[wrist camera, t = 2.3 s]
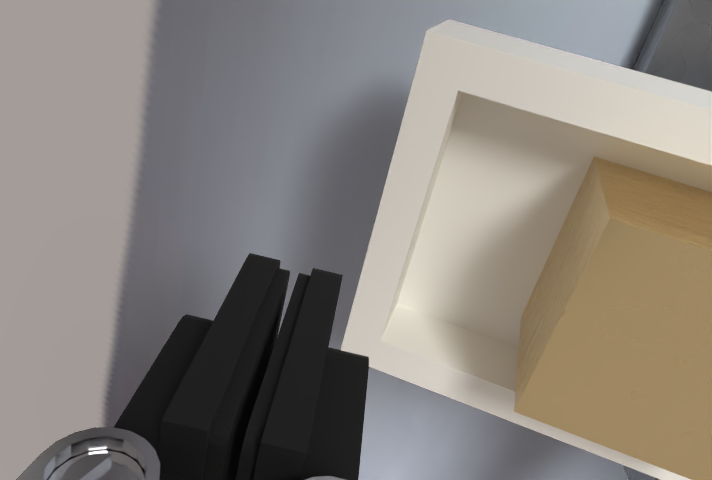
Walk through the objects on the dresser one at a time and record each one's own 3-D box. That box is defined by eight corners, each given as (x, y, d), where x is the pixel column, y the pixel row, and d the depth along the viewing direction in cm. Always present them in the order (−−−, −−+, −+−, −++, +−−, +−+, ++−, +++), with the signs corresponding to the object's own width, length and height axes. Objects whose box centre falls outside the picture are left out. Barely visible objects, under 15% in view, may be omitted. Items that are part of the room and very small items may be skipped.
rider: (593, 156, 14) (609, 217, 10) (811, 222, 13) (907, 312, 10) (520, 317, 16) (513, 411, 13) (700, 381, 15) (745, 500, 12)
